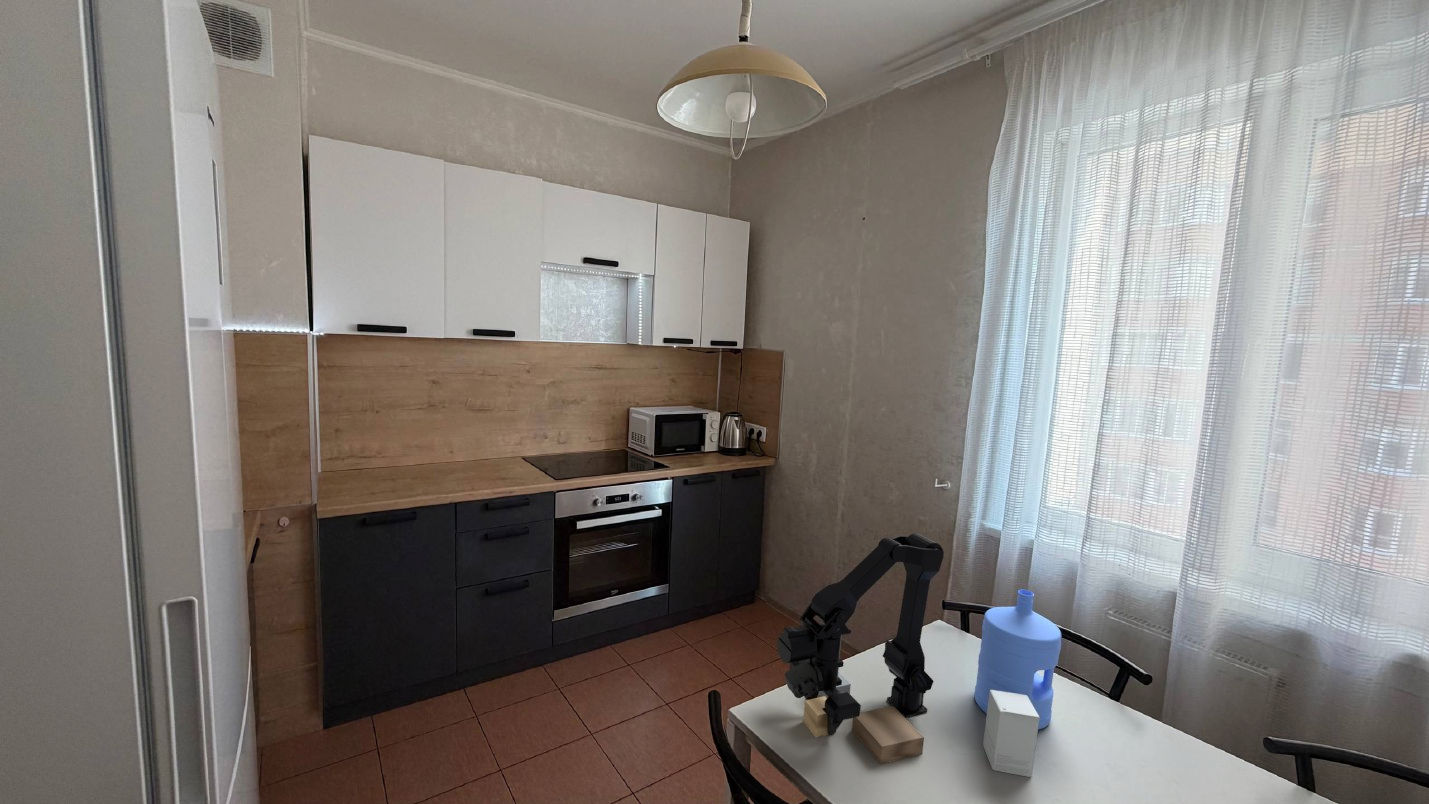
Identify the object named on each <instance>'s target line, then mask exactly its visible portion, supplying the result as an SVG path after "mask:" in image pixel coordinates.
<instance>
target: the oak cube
mask: <svg viewBox="0 0 1429 804" xmlns="http://www.w3.org/2000/svg"><path fill="white" fill-rule="evenodd" d="M826 699H827V698H826V697H825V696H824V697H819V696H818V697H817V698H814V699H810V700H805V699H804V710H803V720H802V721H803V723H804V725H805V726H806V727H807V728H808V730H809V731H810V732H811V734H812V735H813V736H814V737H815V738H820V737H823V736H827V735H828V732H827V714H826V713H825V712H824V711H823V709H822V708H825V700H826ZM835 733H837V730H836V731H835ZM835 733H834V734H835ZM828 736H829V735H828Z"/></svg>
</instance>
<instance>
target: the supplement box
mask: <svg viewBox="0 0 1429 804" xmlns="http://www.w3.org/2000/svg"><path fill="white" fill-rule="evenodd" d="M1039 718H1040V717H1039V715H1038V714H1037V712H1036V710H1035V708H1034V707H1033V705H1032V703H1031V701H1030V700H1029V698H1028V696H1027V695H1022V694H1016V693H1009V692H1003V691H996V690H990V693H989V700H988V709H987V714H986V719H985V727H984V735H983V743H982V746H983V750H984V752H985V753H986V757H987V759H988V762H989V764H990V767H991V770H992V771H995V772H1001V773H1006V774H1010V775H1011V774H1012V775H1016V776H1023V777H1028V778H1031V777H1032V776H1033V770H1034V763H1035V754H1036V747H1037V741H1038V740H1037V739H1038V731H1039V729H1038V726H1039Z"/></svg>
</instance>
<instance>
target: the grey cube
mask: <svg viewBox="0 0 1429 804" xmlns="http://www.w3.org/2000/svg"><path fill="white" fill-rule="evenodd" d="M838 677H839V678H840V679H841V680H842V685H839V686H836V689H837V690H838V691H839V692H840V693H845V692H848V693H849V694H850V695H851V683H850V682H849V680H848V679H846V678H845V677H844V676H843V675H842V674H841V673H840V672H839V671H838ZM824 696H825V697H826V698H828V696H827V695H826V694H825V692H824V691H819V693H818V696H817V697H818V698H819V697H824Z"/></svg>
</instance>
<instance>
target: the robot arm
mask: <svg viewBox="0 0 1429 804" xmlns="http://www.w3.org/2000/svg"><path fill="white" fill-rule="evenodd" d="M944 552H945V551H944V549H943V547H942V546H941V545H940V543H938V542H937V541H934V540H932V539H929V538H928V537H926V536H923V535H922V534H919V533H917V532H914V533H912V534H909V535H896V536H894V537H883V538H881V539H880V541H879V542H878V544H877V546H876V547H874V549H873V550H872V551H871V552H870V553H869V554H868V555H867V556H866V557H865V558H863V559H862V561H860V562H859V563H858V564H857V565H856V567H854V568H853V569H852V570H851V571H850V572H848V573H847V575H846V576H845V577H843V579H841V580H840V581H838V582H834V583H832V584H831V583H830V584H828V585H826V586H824V588H822V589H821V590H820V591H818V592H817V593H815V595H813V597H812V598H811V602H810V603H809V604H808V606H807V607H806V608H805V610H804V612H803V613H802V614H801V616H800V618H799V621H800V622H801V623H802V625H798V626H797V625H796V626H784V627H783V632H781V633H779V635H778V637H777V639H776V642H777V643H776V646H777V652H778V656H779V657H780V659H781V661H782V662H783V663H784V664H789V670H787V671H786V672H785V673H784V678H785V682H786V685H787V688H788V690H789V691H790V692H791V693H792V694H793V696H794V697H795V698H797V699H801V698H803V697H804V701H805V700H810V699H814V698H818V697H819V696H818V693H819V691H824V692H825V694H826V695H827V696H828V698H827V699H826V700H825V708H822V709H823V711H824V712H825V713H826V714H827V732H828V736H829V737H830V736H833V735H834V734H835V731H836V732H837V730H838V728H839V727H840V725H841V724H842V723H843V721H846V720H849V719H850V720H851V719H853V718H854V717H858V716H860V712H861V707H862V706H861V704H860V703H859V702H858V701H857V700H856V699H855V698H854V696H852V695H851V693H850V694H849V693H848V692H845V693H840V692H839V691H838V690H837V689H836V686H839V685H842V680H841V679H840V678H839V677H838V672H839V671H840V669H839V668H843V667H844V661H843V660H842V659H841V657H840V656H841V648H842V647H841V645H842V636H844V635H849V634H851V633H852V630H851V629H850V628H848V626H847V625H846V624H847V622H849V620H850V619H851V617H853V615H854V614H855V611H856V608H857V604H858V601H859V600H860V599H861V598H862V597H863V596H864V595H865V594H866V593H867V592H868V591H870V589H871V588H872V587H873V586H874V585H875V584H876V583H877V582H878V581H879V580H881V578H882V577H883V576H885V575H886V574H887V573H888V572H889V570H891V569H892V568H893V567H894V566H895V565H896V564H897V563H903V566H904V567H903V568H904V570H905V572H906V577H905V582H904V589H903V596H902V600H901V601H902V602H901V607H900V612H899V613H900V614H899V620H898V626H897V631H896V632H897V633H896V635H895V636H893V638H892V639H891V640H885V643H884V652H883V654H882V658H884V664H885V665H886V666H887V668H888V672H889V673H890V674H892V675H893V676H895V677H894V678H893V685H892V686H891V692H890V693H891V694H890V696H887V698H886V701H887V702H888V703H889V704H890V705H891V706H893V707H894V708H895V709H896V710H897V711H898V712H899V713H900V714H901V715H902V716H903V717H904V718H906V717H907V718H909V717H911V716H912V717H913V716H916V715H920V714H924V713H927V712H928V708H927V707H926V706H925V705H924V697H925V695H924V694H926V693H927V691H930V690H932V686H933V684H934V679H933V678H932V677H931V676H929V674H928V673H927V672H926V671H925V669H926V668H925V665H926V663H925V660H926V657H925V653H924V650H923V647H922V645H921V640H922V639H921V637H922V633H923V627H924V620H925V614H926V607H927V601H928V597H929V589H930V583H931V580H932V579H933V578H934V577H935V576H936V575H937V574H938V573H939V572H940V569H941V566H942V564H943V559H944V556H945V555H944ZM815 617H816V618H818V619H819V621H821V622H822V623H821V624H820V623H819V622H818V621H816V620H815V619H814V618H815Z"/></svg>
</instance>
